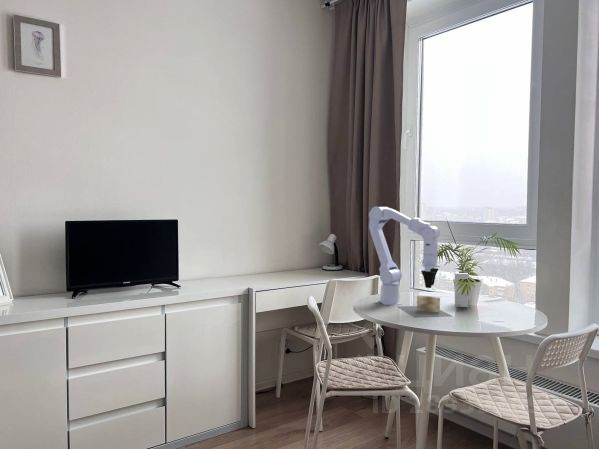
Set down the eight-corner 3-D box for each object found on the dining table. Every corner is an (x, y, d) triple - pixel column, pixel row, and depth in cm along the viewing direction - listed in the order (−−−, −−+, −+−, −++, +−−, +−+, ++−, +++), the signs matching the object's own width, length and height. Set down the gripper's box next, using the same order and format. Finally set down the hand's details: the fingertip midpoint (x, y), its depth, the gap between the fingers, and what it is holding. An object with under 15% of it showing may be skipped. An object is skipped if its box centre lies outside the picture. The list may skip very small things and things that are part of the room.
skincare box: (468, 308, 200) (469, 274, 199) (453, 307, 202) (454, 273, 201) (469, 304, 207) (470, 271, 207) (455, 303, 210) (456, 270, 209)
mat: (396, 307, 200) (396, 306, 200) (431, 306, 203) (431, 305, 203) (414, 318, 181) (414, 317, 181) (453, 317, 183) (453, 316, 183)
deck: (416, 310, 193) (417, 296, 193) (417, 309, 194) (417, 295, 194) (439, 312, 189) (439, 297, 189) (439, 311, 191) (439, 297, 191)
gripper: (437, 256, 187) (437, 289, 188) (442, 253, 201) (441, 284, 201) (420, 255, 190) (419, 288, 191) (425, 252, 203) (424, 283, 204)
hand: (429, 286), depth 196 cm, fingers open, 7 cm apart
